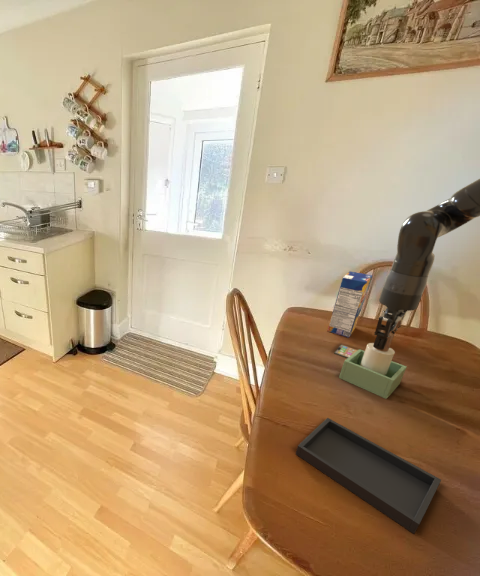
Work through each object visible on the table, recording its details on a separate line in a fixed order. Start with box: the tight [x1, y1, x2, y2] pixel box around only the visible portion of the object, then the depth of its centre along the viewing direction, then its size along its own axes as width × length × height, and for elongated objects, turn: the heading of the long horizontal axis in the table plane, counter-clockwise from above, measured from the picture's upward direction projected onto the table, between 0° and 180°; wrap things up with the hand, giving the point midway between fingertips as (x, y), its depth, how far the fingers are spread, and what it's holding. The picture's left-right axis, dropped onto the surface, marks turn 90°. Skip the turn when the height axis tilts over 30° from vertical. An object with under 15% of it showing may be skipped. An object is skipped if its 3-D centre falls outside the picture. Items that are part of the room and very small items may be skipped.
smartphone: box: [333, 344, 359, 359], centre depth 102 cm, size 8×15×1 cm, turn 41°
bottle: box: [360, 330, 396, 376], centre depth 89 cm, size 6×6×16 cm
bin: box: [338, 348, 408, 400], centre depth 91 cm, size 11×11×7 cm
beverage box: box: [326, 270, 374, 339], centre depth 118 cm, size 7×11×22 cm, turn 132°
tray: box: [295, 417, 442, 535], centre depth 65 cm, size 20×15×3 cm
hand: (382, 345), depth 87 cm, fingers open, 5 cm apart
